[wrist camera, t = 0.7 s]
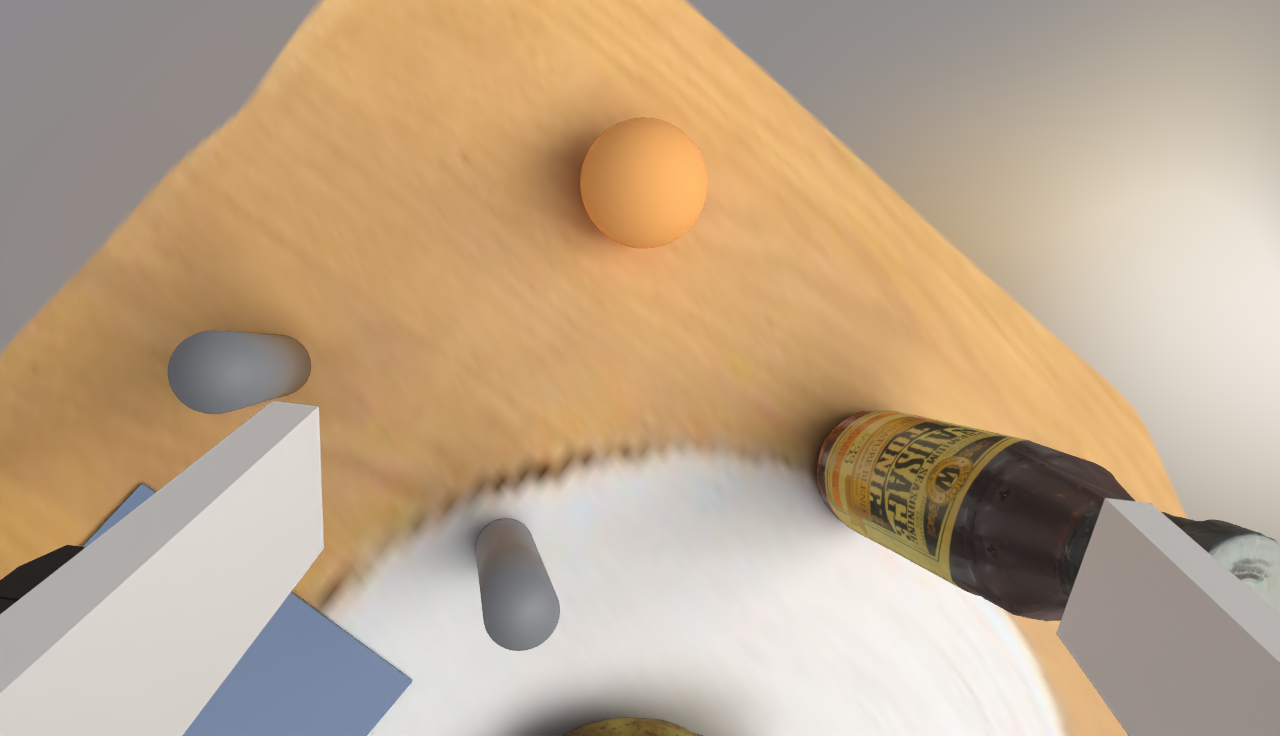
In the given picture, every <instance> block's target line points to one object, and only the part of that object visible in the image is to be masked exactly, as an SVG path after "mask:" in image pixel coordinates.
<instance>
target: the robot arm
mask: <svg viewBox="0 0 1280 736" xmlns="http://www.w3.org/2000/svg"><path fill="white" fill-rule="evenodd" d="M323 549H324V540H323V512H322V484H321V456H320V428H319V406H312V405H303V404H295V403H286V402H277V401H272V402H271V403H270V404H268V405H267V406H266V407H264V408H263V409H262V410H261V411H259V412H258V413H257V414H255V415H254V416H253V417H252V418H250V419H249V420H248V421H247V422H245V423H244V424H243V425H241V426H240V427H239V428H238V429H236V430H235V431H234V432H232V433H231V434H230V435H229V436H227V437H226V438H225V439H224V440H222V441H221V442H220V443H218V444H217V445H216V446H215V447H213V448H212V449H211V450H210V451H208V452H207V453H206V454H204V455H203V456H202V457H201V458H199V459H198V460H197V461H195V462H194V463H193V464H192V465H190V466H189V467H188V468H187V469H185V470H184V471H183V472H181V473H180V474H179V475H178V476H176V477H175V478H174V479H173V480H171V481H170V482H169V483H167V484H166V485H165V486H164V487H162V488H161V489H160V490H158V491H157V492H156V493H155V494H153V495H152V496H151V497H150V498H148V499H147V500H146V501H144V502H143V503H142V504H141V505H139V506H138V507H137V508H135V509H134V510H133V511H132V512H130V513H129V514H128V515H127V516H125V517H124V518H123V519H121V520H120V521H119V522H118V523H116V524H115V525H114V526H113V527H111V528H110V529H109V530H107V531H106V532H105V533H104V534H102V535H101V536H100V537H98V538H97V539H96V540H95V541H93V542H92V543H91V544H90V545H88V546H87V547H80V546H71V545H66V546H64V547H61V548H59V549H57V550H55V551H53V552H50V553H48V554H46V555H44V556H41V557H39V558H37V559H35V560H33V561H30V562H28V563H26V564H24V565H21V566H19V567H18V568H16V569H15V570H14V571H12V572H11V573H10V574H8V575H7V576H5V577H4V578H3V579H1V580H0V736H182V735H183V734H184V733H185V731H186V730H187V729H188V727H189V726H190V725H191V724H192V722H193V721H194V720H195V718H196V717H197V716H198V714H199V713H200V712H201V710H202V709H203V708H204V706H205V705H206V704H207V702H208V701H209V700H210V698H211V697H212V696H213V694H214V693H215V692H216V690H217V689H218V688H219V686H220V685H221V684H222V682H223V681H224V680H225V679H226V677H227V676H228V675H229V673H230V672H231V671H232V669H233V668H234V667H235V665H236V664H237V663H238V661H239V660H240V659H241V657H242V656H243V655H244V653H245V652H246V651H247V649H248V648H249V647H250V645H251V644H252V643H253V641H254V640H255V639H256V637H257V636H258V635H259V634H260V632H261V631H262V630H263V628H264V627H265V626H266V624H267V623H268V622H269V620H270V619H271V618H272V616H273V615H274V614H275V612H276V611H277V610H278V608H279V607H280V606H281V604H282V603H283V602H284V600H285V599H286V598H287V596H288V595H289V594H290V592H291V591H292V590H293V589H294V587H295V586H296V585H297V583H298V582H299V581H300V579H301V578H302V577H303V575H304V574H305V573H306V571H307V570H308V569H309V567H310V566H311V565H312V563H313V562H314V561H315V559H316V558H317V557H318V555H319V554H320V553H321V551H322V550H323ZM1056 634H1057V635H1058V637H1059V638H1060V639H1061V641H1062V642H1063V644H1064V645H1065V647H1066V648H1067V649H1068V651H1069V652H1070V654H1071V655H1072V656H1073V658H1074V659H1075V661H1076V662H1077V664H1078V665H1079V666H1080V668H1081V669H1082V671H1083V672H1084V673H1085V675H1086V676H1087V678H1088V679H1089V680H1090V682H1091V683H1092V685H1093V686H1094V688H1095V689H1096V690H1097V692H1098V693H1099V695H1100V696H1101V697H1102V699H1103V700H1104V702H1105V703H1106V704H1107V706H1108V707H1109V709H1110V710H1111V712H1112V713H1113V714H1114V716H1115V717H1116V719H1117V720H1118V721H1119V723H1120V724H1121V726H1122V727H1123V729H1124V730H1125V731H1126V733H1127V734H1128V736H1280V614H1279V613H1277V612H1276V611H1275V610H1274V609H1273V608H1272V607H1270V606H1269V605H1268V604H1267V603H1266V602H1265V601H1263V600H1262V599H1261V598H1260V597H1259V596H1258V595H1257V594H1255V593H1254V592H1253V591H1252V590H1251V589H1250V588H1248V587H1247V586H1246V585H1245V584H1244V583H1243V582H1241V581H1240V580H1239V579H1238V578H1237V577H1236V576H1235V575H1233V574H1232V573H1231V572H1230V571H1229V570H1228V569H1226V568H1225V567H1224V566H1223V565H1222V564H1221V563H1219V562H1218V561H1217V560H1216V559H1215V558H1214V557H1213V556H1211V555H1210V554H1209V553H1208V552H1207V551H1206V550H1204V549H1203V548H1202V547H1201V546H1200V545H1199V544H1197V543H1196V542H1195V541H1194V540H1193V539H1192V538H1191V537H1189V536H1188V535H1187V534H1186V533H1185V532H1184V531H1182V530H1181V529H1180V528H1179V527H1178V526H1177V525H1175V524H1174V523H1173V522H1172V521H1171V520H1170V519H1169V518H1167V517H1166V516H1165V515H1164V514H1163V513H1162V512H1160V511H1159V510H1158V509H1157V508H1156V507H1155V506H1153V505H1152V504H1151V503H1144V502H1136V501H1127V500H1118V499H1110V498H1105V500H1104V502H1103V505H1102V508H1101V511H1100V514H1099V516H1098V519H1097V522H1096V525H1095V527H1094V530H1093V533H1092V536H1091V539H1090V541H1089V544H1088V547H1087V550H1086V552H1085V555H1084V558H1083V561H1082V564H1081V566H1080V569H1079V572H1078V575H1077V577H1076V580H1075V583H1074V586H1073V589H1072V591H1071V594H1070V597H1069V600H1068V602H1067V605H1066V608H1065V611H1064V613H1063V616H1062V619H1061V622H1060V625H1059V627H1058V630H1057V633H1056Z"/></svg>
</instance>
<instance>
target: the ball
mask: <svg viewBox="0 0 1280 736" xmlns="http://www.w3.org/2000/svg"><path fill="white" fill-rule="evenodd" d="M580 188H581V195H582V199H583V203H584V206H585V209H586V211H587V213H588V215H589V217H590V219H591V220H592V221H593V223H594V224H595V226H596V227H597V228H598V229H599V230H600V231H601V232H602V233H604V234H605V235H606V236H607V237H609V238H610V239H612V240H614V241H616V242H618V243H620V244H622V245H626V246H629V247H634V248H654V247H658V246H662V245H665V244H668V243H670V242H672V241H674V240H676V239H677V238H679V237H680V236H681V235H683V234H684V233H685V232H686V231H687V230H688V229H689V228H690V227H691V226H692V225H693V224H694V222H695V221H696V220H697V218H698V216H699V214H700V212H701V210H702V208H703V206H704V203H705V199H706V194H707V172H706V167H705V163H704V160H703V158H702V155H701V153H700V151H699V149H698V148H697V146H696V145H695V143H694V142H693V141H692V140H691V139H690V137H689V136H688V135H686V134H685V133H684V132H683V131H682V130H680V129H679V128H677V127H676V126H674V125H672V124H670V123H668V122H665V121H662V120H658V119H653V118H634V119H629V120H626V121H623V122H620V123H618V124H616V125H614V126H612V127H610V128H609V129H608V130H606V131H605V132H604V133H603V134H602V135H601V136H600V137H599V138H597V140H596V141H595V142H594V143H593V145H592V146H591V148H590V149H589V151H588V153H587V155H586V158H585V160H584V163H583V167H582V170H581V178H580Z"/></svg>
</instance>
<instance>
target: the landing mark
mask: <svg viewBox="0 0 1280 736" xmlns="http://www.w3.org/2000/svg"><path fill="white" fill-rule="evenodd" d="M155 493H156V492H155V491H154V490H153V489H151V488H150V487H148V486H147V485H146V484H144V483H143V484H141V485H140V486H139V487H138V488H137V489H136V490H135V492H134V493H133V494H132V495H131V496H130V497H129V498H128V499H127V500H126V501H125V502H124V503H123V504H122V505H121V506H120V507H119V509H118V510H117V511H116V512H115V513H114V514H113V515H112V516H111V517H110V518H109V519H108V520H107V521H106V522H105V523H104V524H103V526H102V527H101V528H100V529H99V530H98V531H97V532H96V533H95V534H94V535H93V536H92V537H91V538H90V539H89V540H88V541H87V542H86V544H85V545H84V546H83V547H87V546H88V545H90V544H91V543H92V542H93V541H95V540H96V539H97V538H98V537H100V536H101V535H102V534H104V533H105V532H106V531H107V530H109V529H110V528H111V527H113V526H114V525H115V524H116V523H118V522H119V521H120V520H121V519H123V518H124V517H125V516H127V515H128V514H129V513H130V512H132V511H133V510H134V509H135V508H137V507H138V506H139V505H141V504H142V503H143V502H144V501H146V500H147V499H148V498H150V497H151V496H152V495H153V494H155ZM411 682H412V680H411V679H410V678H409V677H407V676H406V675H405V674H403V673H402V672H401V671H399V670H398V669H397V668H395V667H394V666H392V665H391V664H390V663H388V662H387V661H386V660H384V659H383V658H382V657H380V656H379V655H377V654H376V653H375V652H373V651H372V650H371V649H369V648H368V647H367V646H365V645H364V644H362V643H361V642H360V641H358V640H357V639H356V638H354V637H353V636H352V635H350V634H349V633H347V632H346V631H345V630H343V629H342V628H341V627H339V626H338V625H337V624H335V623H334V622H332V621H331V620H330V619H328V618H327V617H326V616H324V615H323V614H322V613H320V612H319V611H317V610H316V609H315V608H313V607H312V606H311V605H309V604H308V603H307V602H305V601H304V600H302V599H301V598H300V597H298V596H297V595H296V594H294V593H293V592H292V591H291V592H290V594H289V595H288V596H287V598H286V599H285V600H284V602H283V603H282V604H281V606H280V607H279V608H278V610H277V611H276V612H275V614H274V615H273V616H272V618H271V619H270V620H269V622H268V623H267V624H266V626H265V627H264V628H263V630H262V631H261V632H260V634H259V635H258V636H257V637H256V639H255V640H254V641H253V643H252V644H251V645H250V647H249V648H248V649H247V651H246V652H245V653H244V655H243V656H242V657H241V659H240V660H239V661H238V663H237V664H236V665H235V667H234V668H233V669H232V671H231V672H230V673H229V675H228V676H227V677H226V679H225V680H224V681H223V682H222V684H221V685H220V686H219V688H218V689H217V690H216V692H215V693H214V694H213V696H212V697H211V698H210V700H209V701H208V702H207V704H206V705H205V706H204V708H203V709H202V710H201V712H200V713H199V714H198V716H197V717H196V718H195V720H194V721H193V722H192V724H191V725H190V726H189V727H188V729H187V730H186V731H185V733H184V734H183V735H182V736H367V735H368V733H369V732H370V731H371V730H372V729H373V727H374V726H375V725H376V724H377V723H378V722H379V720H380V719H381V718H382V717H383V716H384V714H385V713H386V712H387V711H388V710H389V708H390V707H391V706H392V705H393V704H394V703H395V701H396V700H397V699H398V698H399V697H400V695H401V694H402V693H403V692H404V691H405V689H406V688H407V687H408V686H409V685H410V684H411Z"/></svg>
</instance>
